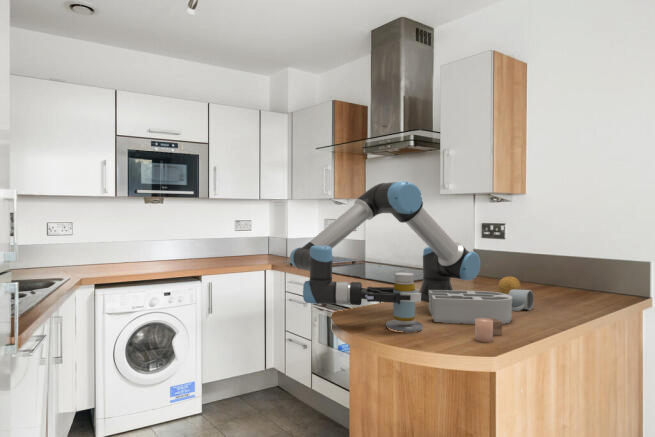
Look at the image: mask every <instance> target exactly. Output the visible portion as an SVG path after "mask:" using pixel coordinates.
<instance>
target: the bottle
mask: <svg viewBox="0 0 655 437" xmlns="http://www.w3.org/2000/svg"><path fill="white" fill-rule="evenodd" d="M414 281H415V274H414V273H412V272H403V271H402V272H401V271H400V272H394V285H393V287H394V289H393V293H399V294H400V293H415V289H416V287H415V282H414ZM392 307H393V309H392V313H393V315H392V317H393V318H394V319H393V320H398V321H414V319H415V317H416V302H401V301H400V304H398V303H392Z"/></svg>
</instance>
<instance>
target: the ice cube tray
mask: <svg viewBox="0 0 655 437" xmlns="http://www.w3.org/2000/svg"><path fill="white" fill-rule="evenodd" d="M428 310H429V314H430V315H431V316H432V320H433V322H434V323H435V322H443V323H442V324H460V323H463V325H466V324H467V325H469V324H470V325H475V319H476V318H496V319H498V320H500V321H502V325H506V323H507V324H509V323H511V320H512V317H513V316H512V296H510V295H507V294H503V293H501V292H496V291H488V290H487V291H486V290H482V291H481V290H453V291H452V290H429V301H428Z"/></svg>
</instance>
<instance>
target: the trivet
mask: <svg viewBox="0 0 655 437" xmlns="http://www.w3.org/2000/svg"><path fill="white" fill-rule="evenodd" d="M386 326H387V327H388V328H390V329H393V330H397V331H403V332H415V331H420V330H422V329H423V330H424V324H422V323H421V322H419V321H416V320H412V321H398V320H395V319H393V320H388V321H386V322H385V327H386ZM423 330H422V331H423ZM420 332H421V331H420Z"/></svg>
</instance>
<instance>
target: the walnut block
mask: <svg viewBox="0 0 655 437" xmlns="http://www.w3.org/2000/svg"><path fill="white" fill-rule="evenodd" d="M488 319H492V320H493V337H494V336H502V335H503V328H502V327H503V324H502V321H500V320H498V319H496V318H488Z"/></svg>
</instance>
